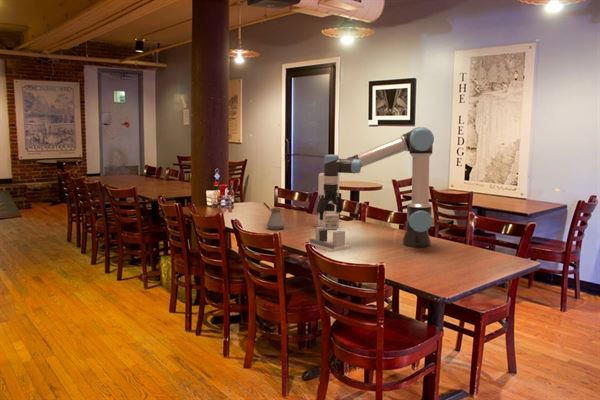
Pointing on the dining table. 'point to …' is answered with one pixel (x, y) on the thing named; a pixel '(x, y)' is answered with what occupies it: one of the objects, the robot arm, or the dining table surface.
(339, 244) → the rail board
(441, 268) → the dining table surface
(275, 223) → the coffee pot
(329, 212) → the container
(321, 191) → the grey dispenser tower
